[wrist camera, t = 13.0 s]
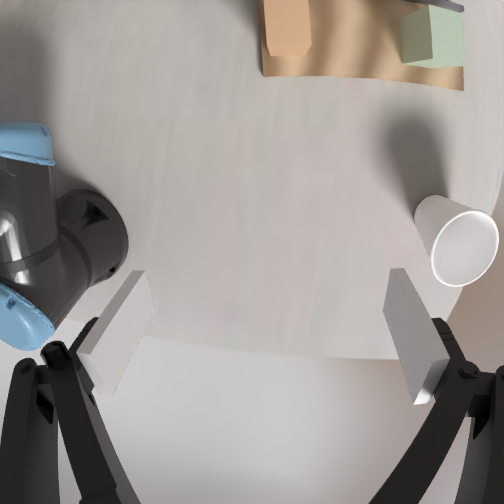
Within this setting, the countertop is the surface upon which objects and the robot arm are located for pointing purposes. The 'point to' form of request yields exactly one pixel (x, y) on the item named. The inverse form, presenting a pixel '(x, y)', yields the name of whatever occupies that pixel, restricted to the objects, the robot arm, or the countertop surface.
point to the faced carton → (287, 27)
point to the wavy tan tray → (359, 43)
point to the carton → (433, 38)
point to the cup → (456, 239)
